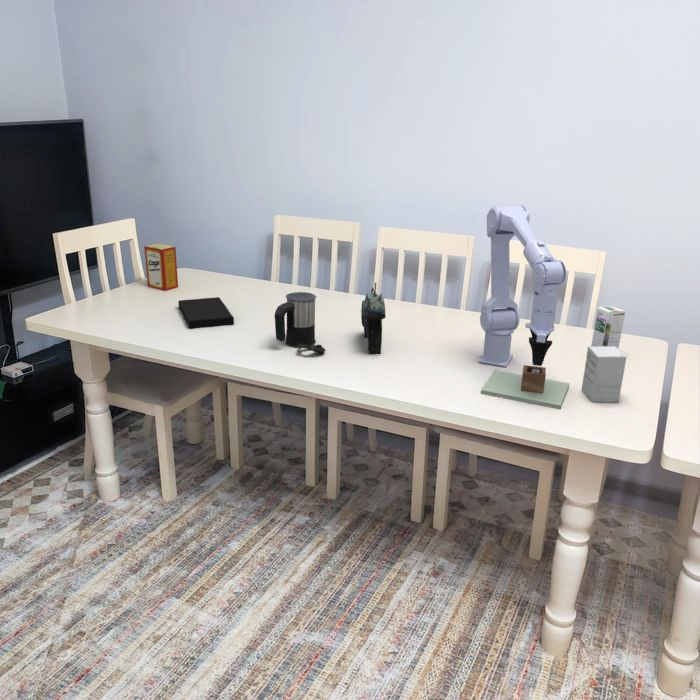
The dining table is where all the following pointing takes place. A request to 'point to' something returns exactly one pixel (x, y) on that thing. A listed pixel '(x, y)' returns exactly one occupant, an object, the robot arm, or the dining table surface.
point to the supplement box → (603, 374)
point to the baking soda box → (161, 266)
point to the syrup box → (608, 327)
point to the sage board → (511, 389)
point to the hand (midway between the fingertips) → (537, 359)
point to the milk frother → (298, 321)
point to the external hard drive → (205, 313)
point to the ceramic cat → (373, 320)
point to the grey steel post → (535, 371)
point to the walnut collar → (533, 379)
